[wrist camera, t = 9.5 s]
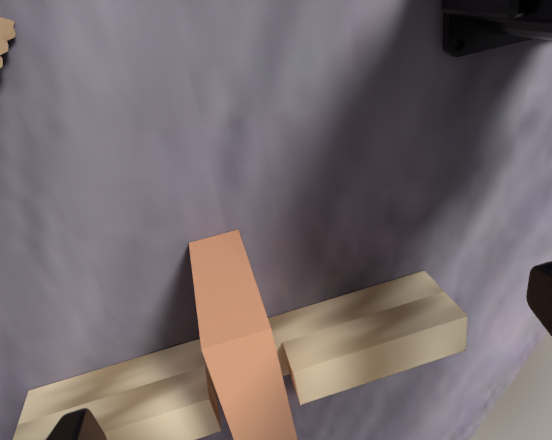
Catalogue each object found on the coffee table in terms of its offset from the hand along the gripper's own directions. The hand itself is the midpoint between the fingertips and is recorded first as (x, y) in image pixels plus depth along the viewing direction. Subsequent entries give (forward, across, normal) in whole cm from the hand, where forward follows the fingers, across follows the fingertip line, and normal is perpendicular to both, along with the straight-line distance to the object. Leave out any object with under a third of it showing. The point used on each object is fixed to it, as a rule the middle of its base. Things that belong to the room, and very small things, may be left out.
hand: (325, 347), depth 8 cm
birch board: (+12, +2, +11) cm, 16 cm away
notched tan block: (+12, +2, +11) cm, 16 cm away
